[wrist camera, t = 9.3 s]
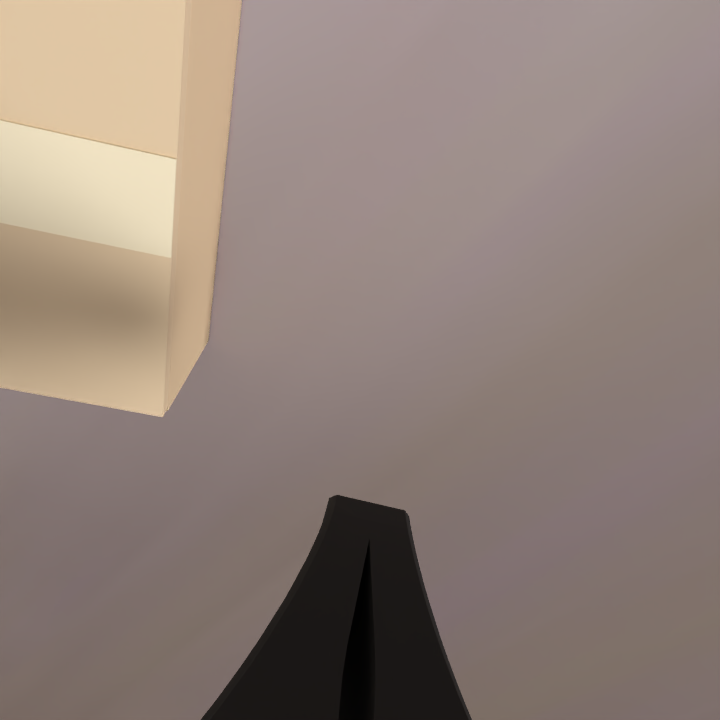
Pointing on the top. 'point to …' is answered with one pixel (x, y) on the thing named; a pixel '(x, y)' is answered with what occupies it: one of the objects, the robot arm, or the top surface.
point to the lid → (91, 196)
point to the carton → (202, 178)
